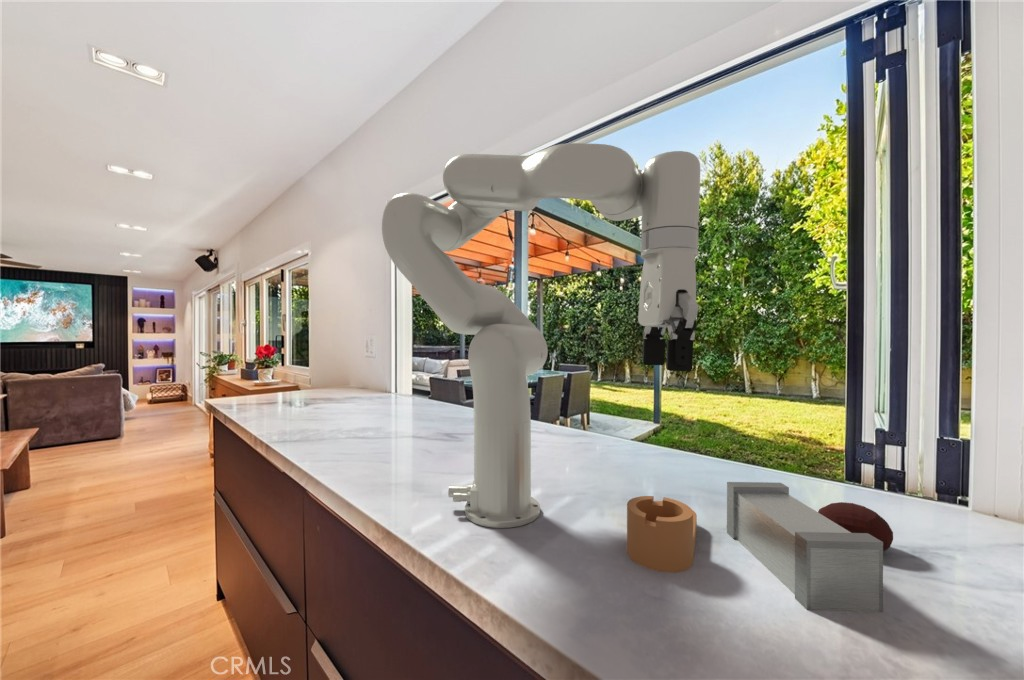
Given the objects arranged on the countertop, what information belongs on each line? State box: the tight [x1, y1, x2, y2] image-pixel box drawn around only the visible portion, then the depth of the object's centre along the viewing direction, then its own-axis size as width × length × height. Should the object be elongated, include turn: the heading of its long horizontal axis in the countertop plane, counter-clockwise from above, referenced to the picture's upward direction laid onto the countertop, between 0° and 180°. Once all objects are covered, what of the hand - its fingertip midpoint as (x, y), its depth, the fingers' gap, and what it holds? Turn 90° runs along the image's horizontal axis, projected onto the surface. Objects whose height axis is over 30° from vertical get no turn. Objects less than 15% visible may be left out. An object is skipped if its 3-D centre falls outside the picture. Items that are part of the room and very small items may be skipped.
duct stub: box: [726, 481, 884, 613], centre depth 53 cm, size 8×18×8 cm, turn 177°
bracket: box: [626, 495, 698, 573], centre depth 60 cm, size 18×8×7 cm, turn 153°
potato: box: [817, 502, 894, 552], centre depth 58 cm, size 7×8×6 cm
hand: (665, 367), depth 59 cm, fingers open, 9 cm apart
